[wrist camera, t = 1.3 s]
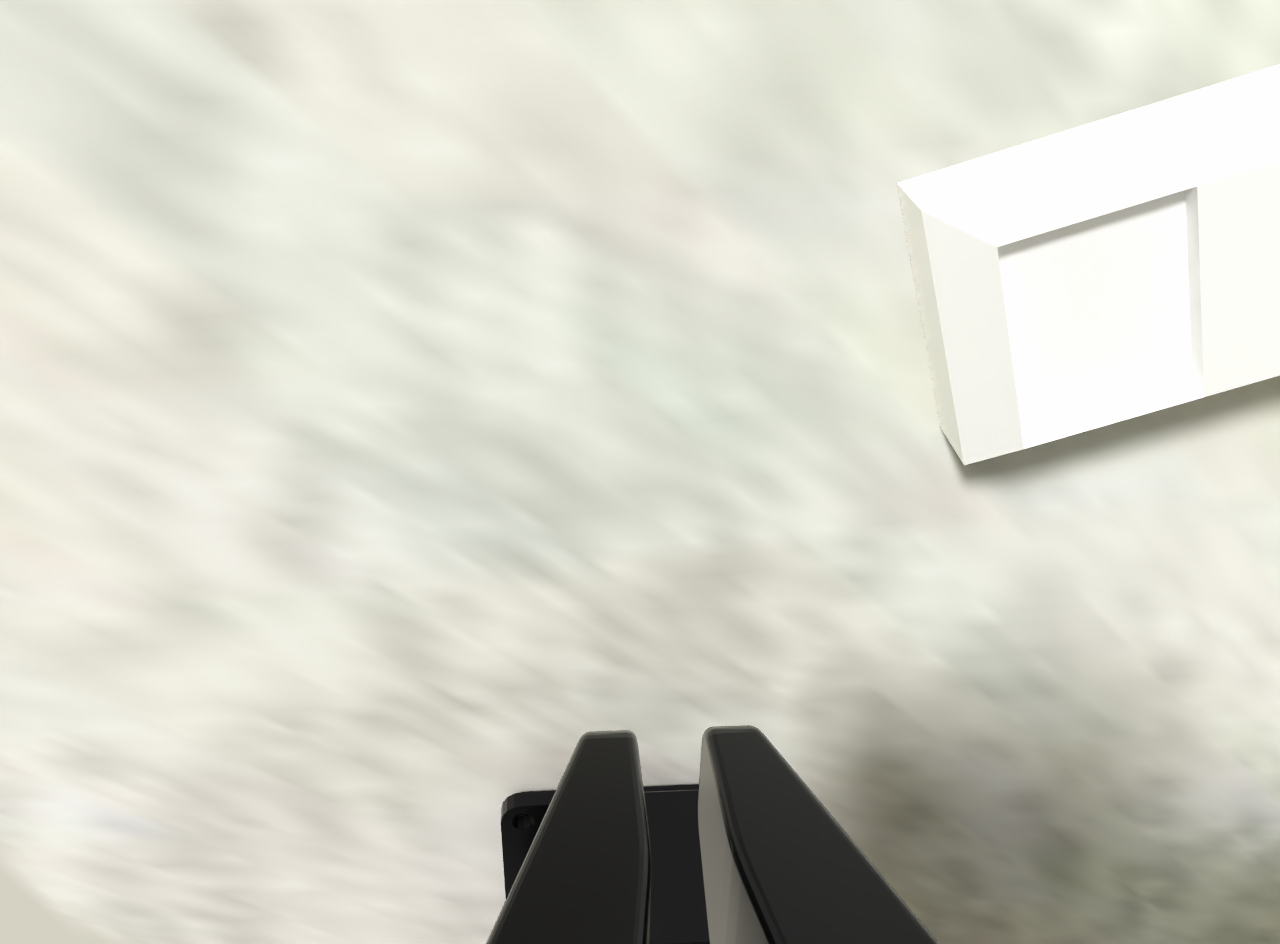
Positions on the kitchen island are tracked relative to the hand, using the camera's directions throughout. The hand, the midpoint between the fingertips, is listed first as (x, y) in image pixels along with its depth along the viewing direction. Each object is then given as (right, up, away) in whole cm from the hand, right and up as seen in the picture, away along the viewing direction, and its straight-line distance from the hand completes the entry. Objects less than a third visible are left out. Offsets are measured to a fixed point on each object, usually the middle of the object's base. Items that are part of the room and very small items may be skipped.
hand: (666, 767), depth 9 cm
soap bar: (+9, +7, +11) cm, 16 cm away
